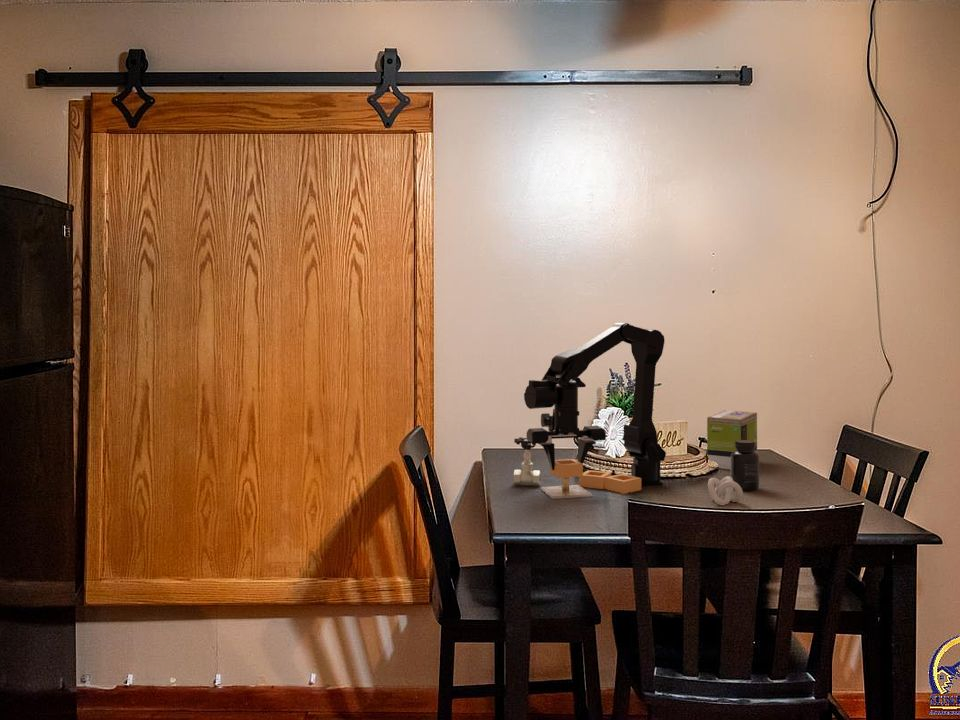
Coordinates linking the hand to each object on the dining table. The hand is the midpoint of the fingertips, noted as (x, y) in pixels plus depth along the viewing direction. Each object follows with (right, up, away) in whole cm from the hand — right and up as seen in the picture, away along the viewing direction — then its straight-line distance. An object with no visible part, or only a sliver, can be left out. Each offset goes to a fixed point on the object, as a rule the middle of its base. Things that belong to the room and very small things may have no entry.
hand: (566, 469), depth 198 cm
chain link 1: (+8, -5, +8) cm, 13 cm away
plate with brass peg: (0, -6, 0) cm, 6 cm away
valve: (-9, -6, +9) cm, 14 cm away
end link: (0, -1, 0) cm, 1 cm away
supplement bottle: (+45, -6, +4) cm, 46 cm away
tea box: (+51, -3, +33) cm, 61 cm away
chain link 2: (+15, -6, +4) cm, 16 cm away
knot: (+36, -7, -9) cm, 38 cm away
